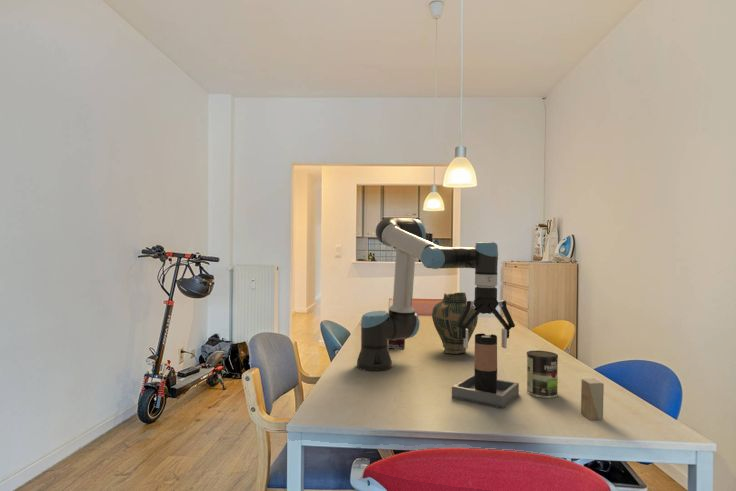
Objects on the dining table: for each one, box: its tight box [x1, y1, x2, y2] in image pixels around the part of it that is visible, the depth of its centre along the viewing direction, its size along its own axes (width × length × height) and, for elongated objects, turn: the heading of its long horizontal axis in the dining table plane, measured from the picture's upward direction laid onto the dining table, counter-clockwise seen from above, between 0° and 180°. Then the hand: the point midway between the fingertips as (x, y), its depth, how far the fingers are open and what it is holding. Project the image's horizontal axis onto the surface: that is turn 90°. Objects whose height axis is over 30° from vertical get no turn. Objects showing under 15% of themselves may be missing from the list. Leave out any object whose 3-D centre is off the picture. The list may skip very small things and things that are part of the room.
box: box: [580, 378, 605, 421], centre depth 133 cm, size 5×4×11 cm
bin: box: [451, 374, 520, 410], centre depth 151 cm, size 17×17×4 cm
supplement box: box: [388, 339, 406, 350], centre depth 225 cm, size 9×5×16 cm, turn 84°
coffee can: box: [526, 350, 559, 399], centre depth 155 cm, size 10×10×14 cm
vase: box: [431, 291, 479, 355], centre depth 216 cm, size 22×22×30 cm
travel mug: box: [473, 333, 498, 394], centre depth 152 cm, size 8×8×20 cm
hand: (484, 347), depth 152 cm, fingers open, 13 cm apart
